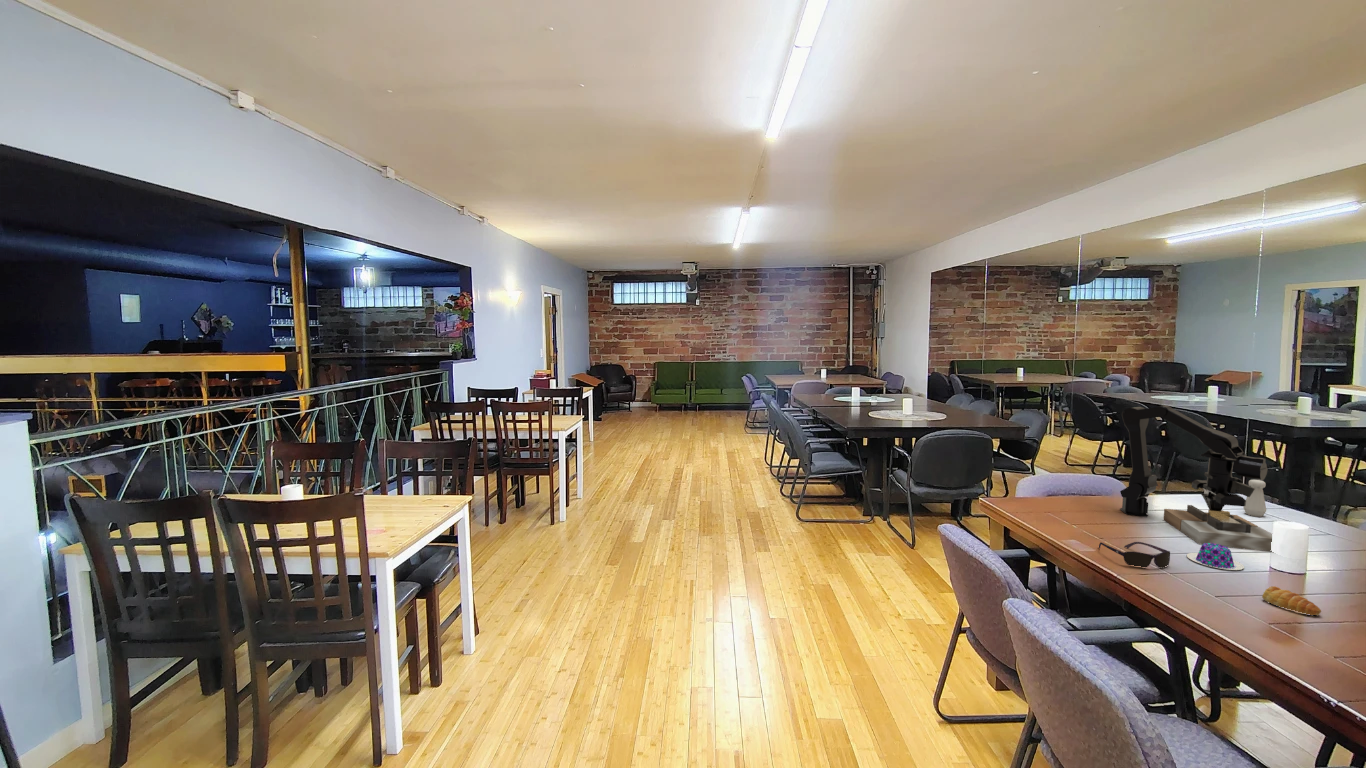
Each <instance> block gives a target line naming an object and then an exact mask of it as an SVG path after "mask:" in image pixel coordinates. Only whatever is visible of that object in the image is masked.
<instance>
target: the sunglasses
mask: <svg viewBox="0 0 1366 768" xmlns="http://www.w3.org/2000/svg"><path fill="white" fill-rule="evenodd" d="M1134 545H1143V546H1147V547H1150V548H1152V549H1155V550H1156V551H1159V552H1160V553H1157V554H1149V553H1145V552H1139V551H1121V550H1118V549H1117V548H1115V547H1112V546H1110V545H1108V544H1105V543H1104V542H1099V544H1098V546H1099V548H1100V549H1101V546H1103V547H1104V548H1107V549H1109V550H1110V551H1113V552H1114V553H1116V554H1118V555H1120V556H1122V557H1123V560H1124V562H1125V564H1126V565H1127V566H1129V565H1134V566H1141V567H1147V568H1148V567H1149V566H1150V565H1151V563H1152V561H1153V563H1154V564H1155V566H1156V567H1157V568H1159V567H1165V566H1167V565H1168V566H1169V565H1170V561H1171V551H1169V550H1167V549H1164V548H1162V547H1159V546H1157V545H1153V544H1150V543H1146V542H1141V541H1133V542H1130V543H1127V544H1125V545H1124V548H1125V547H1127V548H1126V549H1129V548H1131V547H1132V546H1134ZM1099 548H1098V549H1099ZM1168 566H1167V567H1168Z"/></svg>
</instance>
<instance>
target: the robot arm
mask: <svg viewBox="0 0 1366 768" xmlns="http://www.w3.org/2000/svg"><path fill="white" fill-rule="evenodd" d="M1121 417H1122V421H1123V422H1122V423H1124V424H1123V425H1124V427H1125V428H1126V429H1127V431H1128V435H1129V437H1128V438H1129V444H1130V445H1129V446H1130V447H1129V449H1130V457H1131V467H1132V468H1131V470H1132V471H1131V473H1130V476H1129V479H1128V486H1127V487H1125V488H1123V489H1121V490H1120V492H1119V493H1120V495H1121V497H1122V503H1121V504H1122V505H1121V507H1120V508H1119V511H1121V512H1123V513H1124V514H1125V515H1129V516H1141V517H1149V514H1148V513H1149V511H1148V510H1149V502H1148V499H1147V498H1148V497H1149V496H1150V494H1151V493H1153V492H1155V491H1156V489H1157V487H1159V485H1158V482H1157V481H1158V480H1157V477H1158V476H1157V475H1156V474H1152V473H1151V471H1150V467H1149V459H1148V458H1149V457H1148V448H1147V437H1146V430H1147V428H1148V425H1149V421H1150V419H1153V418H1154V419H1155V418H1161V419H1163V420H1165V421H1167V422H1169V423H1170V424H1173V425H1174V426H1176V427H1178V428H1180V429H1181V430H1183V431H1185V432H1187V433H1188V434H1191V435H1193V436H1195V438H1197V439H1198V440H1199V441H1200V442H1201V443H1202V444H1203V445H1204V446H1206V447H1207V448H1209V449H1207V450H1206V451H1205V452H1204V453H1201V454H1200V456H1201V457H1204V458H1207V459H1208V466H1207V467H1208V468H1207V472H1206V471H1205V472H1204V474H1203V475H1204V476H1205V477H1206V479H1205V480H1204V479H1203V480H1201V479H1195V480H1192V482H1191V488H1192V489H1194V490H1198V489H1202V490H1204V492H1203V493H1200V495H1201V496H1202V498H1203V500H1204V502H1205V503H1206V506H1207V508H1208V510H1219V511H1221V510H1223V508H1224V507H1225V506H1232V507H1233V506H1234V507H1244V506H1246V498H1247V497H1250V496H1251V494H1252V493H1253V491H1254V490H1255V489H1254V488H1252V487H1251V486H1249V484H1245V483H1243V482H1244V481H1243V480H1242V479H1240V478H1238V477H1243V478H1248V479H1253V480H1261V481H1264V480H1265V479H1266V477H1267V474H1268V467H1267V466H1268V465H1267V463H1266V459H1267V458H1263V457H1253V456H1247V455H1246V453H1245V452H1244V450H1243V449H1242V448H1241V447H1240V446H1239V441H1238V438H1237V437H1235V436H1234V435H1232V434H1229V433H1226V432H1223V431H1221V430H1217V429H1214V428H1211V427H1207V426H1206V425H1204V424H1202V423H1200V422H1198V421H1197V420H1195V419H1193V418H1191V417H1188V416H1187V415H1185V414H1184V413H1182V412H1180V411H1178V410H1177V409H1175V408H1172V407H1171V406H1170V405H1164V404H1163V405H1159V406H1156V407H1148V408H1145V407H1143V406H1136V407H1135V406H1134V407H1127V408H1126V409H1124V410H1123V411H1122V412H1121ZM1233 473H1234V474H1236V475H1237V477H1236V476H1234V477H1233ZM1237 493H1238V494H1237ZM1242 495H1243V496H1245V497H1246V498H1244V497H1243V496H1242Z"/></svg>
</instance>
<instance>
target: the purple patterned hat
mask: <svg viewBox="0 0 1366 768" xmlns="http://www.w3.org/2000/svg"><path fill="white" fill-rule="evenodd" d="M1232 554H1233V553H1232V551H1231V549H1230V547H1226V546H1222V545H1219V544H1214V543H1204V544H1201V546H1200V548H1199V550H1198V552H1188V553H1187V554H1186V557H1187V558H1188V559H1190V561H1193V562H1195V563H1198V564H1201V565H1204V566H1206V567H1211V568H1216V569H1220V570H1225V569H1226V570H1227V571H1239V570H1244V569H1245V566H1244V564H1242V563H1240V562H1238V561H1237V560H1235V559H1233V555H1232ZM1202 563H1203V564H1202ZM1234 564H1235V565H1236V566H1237V567H1236V568H1235V566H1234ZM1208 565H1209V566H1208ZM1212 566H1214V567H1212ZM1218 567H1219V568H1218ZM1222 567H1223V568H1222ZM1228 568H1230V569H1228ZM1232 568H1235V569H1232Z"/></svg>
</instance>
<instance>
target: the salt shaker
mask: <svg viewBox="0 0 1366 768" xmlns="http://www.w3.org/2000/svg"><path fill="white" fill-rule="evenodd" d="M1247 485H1248V486H1250V487H1252V488H1254V489H1255V490H1254V491H1253V493H1252V494H1251V496H1250V497H1247V496H1246V498H1245V500H1246V506H1242V507H1243V510H1244V513H1245V514H1246V515H1247V514H1248V516H1250V515H1251V516H1252V517H1257V518H1261V517H1264V515H1265V514H1266V513H1267V507H1266V501H1265V494H1264V490H1263V489H1264V488H1266V485H1267V484H1266V482H1265V481H1264V480H1259V479H1250V480H1248V484H1247ZM1251 516H1250V517H1251Z"/></svg>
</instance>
